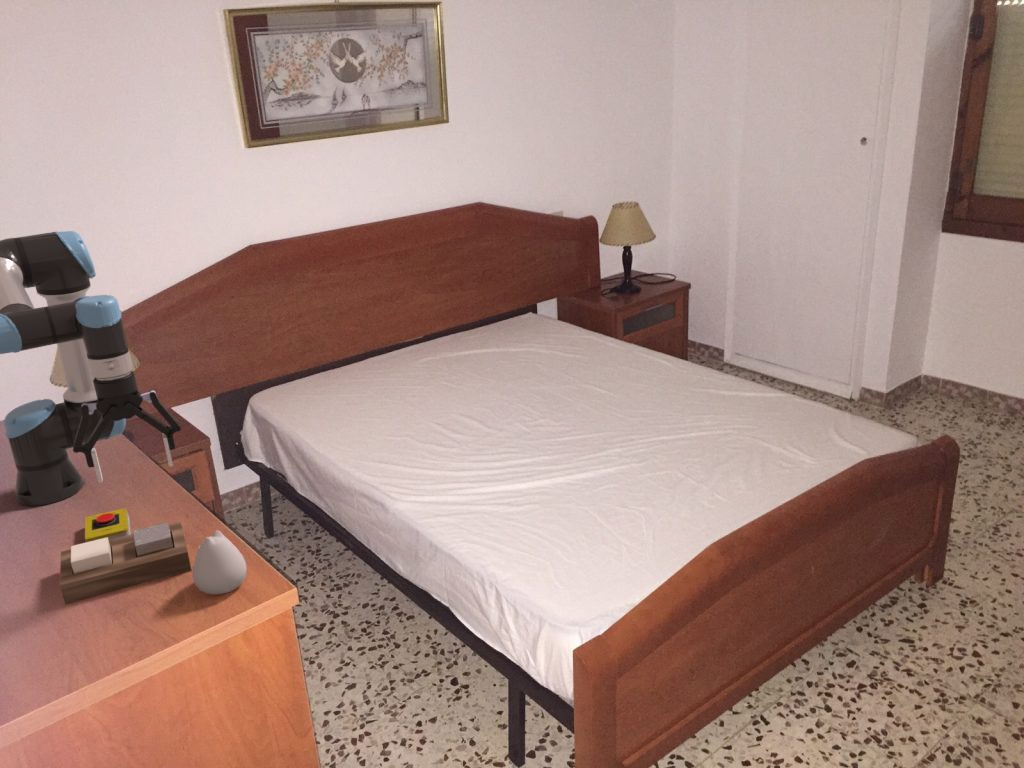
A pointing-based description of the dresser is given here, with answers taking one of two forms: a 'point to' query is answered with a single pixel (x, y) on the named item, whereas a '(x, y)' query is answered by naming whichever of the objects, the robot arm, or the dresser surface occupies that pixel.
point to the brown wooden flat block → (124, 568)
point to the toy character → (218, 565)
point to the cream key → (91, 555)
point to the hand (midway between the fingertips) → (136, 472)
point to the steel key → (153, 539)
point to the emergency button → (107, 525)
